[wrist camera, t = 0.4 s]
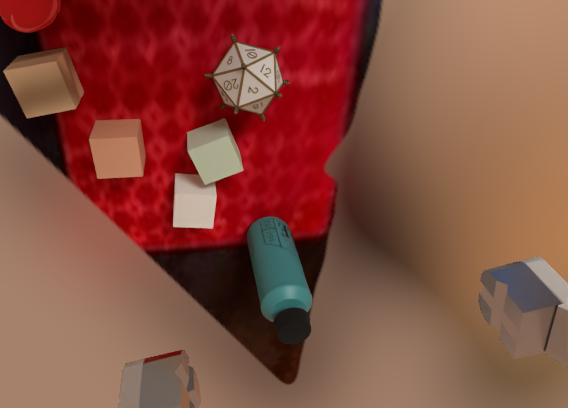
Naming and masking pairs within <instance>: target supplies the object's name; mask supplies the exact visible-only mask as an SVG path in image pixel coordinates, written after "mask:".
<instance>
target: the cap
mask: <svg viewBox="0 0 568 408" xmlns="http://www.w3.org/2000/svg"><path fill="white" fill-rule="evenodd" d="M60 9H61V0H0V15H1V18H2V20H3V21H4V22H5V23H6V24H7V25H8V26H9V27H11V28H13V29H15V30H17V31H20V32H24V33H31V32H35V31H38V30H41V29H43V28H46V27H47V26H49V25H50V24H52V23H53V21H54V20H55V18H56V16H57V13H59V12H60Z"/></svg>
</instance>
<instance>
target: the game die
mask: <svg viewBox="0 0 568 408" xmlns="http://www.w3.org/2000/svg"><path fill="white" fill-rule="evenodd" d="M231 39H232V41H233V44H232V45H231V47H230V48H229V50H228V51H227V53H226V54H225V56H224V58H223V59H222V61H221V62H220V63H219V65H218V67H217V68H216V70H215V71H214V73H213V74H210V73H209V74H208V73H207V74H205V75H204V76H205V77H207V78H209V79H210V78H213V80H214V82H215V85H216V87H217V89H218V91H219V93H220V96H221V98H222V100H223V102H224V104H222V105H220V106H221V107H220V109H224V108H225V107H226V105H227V106H230V107H233V108H235V109H234V111H233V112H234V114H237V113H239V112H238V111H239V109H240V110H244V111H248V112H252V113H255V114H259V115H261V117H260V118H261V120H263V121H264V122H265V118H266V117H265V115H263V113H264V112H265V110H266V109H267V107H268V106H269V104H270V103H271V101H272V100H273V98H274V97H275V96H276V97H278V98H279V97H282V95H281V93H279V92H278V91H279V89H280V88H281V86H282V85H283V84H284V85H288V84H290V82H288V80H287V81H286V80H285V81H283V79H282V75H281V72H280V68H279V65H278V61H277V58H276V53H278V52H279V51H280V46H279V47H276V48H275V49H274V51H270V50H267V49H263V48H262V47H261V48H259V47H255V46H252V45H248V44H244V43H241V42H237V41H236V37H235V35H233V34H231Z"/></svg>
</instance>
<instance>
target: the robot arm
mask: <svg viewBox="0 0 568 408" xmlns="http://www.w3.org/2000/svg"><path fill="white" fill-rule="evenodd" d="M481 282H482V284H483V285H484V287H483V288H482V290H481V291H480V292H479V300H478V302H479V305H480V310H481V312H482V314H483V316H484V318H485V320H486V321H487V323H488V324H489V326H491V327H493V328H495V329H497V330H499V331H500V336H499V340H500V341H501V342H502V344H503V345H504V347H505V348H506V349H507V351H508V352H509V353H510V355H511V356H512V358H513V359H518V358H522V357H526V356H530V355H534V354H539V353H542V352H545V354H547V355H548V356H550V357H551V358H553V359H555V360H556V361H558V362H559V363H561V364H563V365H564V366H566V367H568V283H567V282H565V280H564V279H563V278H562V277H560V275H559V274H558V273H557V272H555V270H553V269H552V268H551V267H550V266H549V265H548V264H547V263H546V262H545V261H544V260H543V259H542V258H540V257H538V256H537V257H534V258H530V259H526V260H523V261H519V262H513V263H510V264H506V265H502V266H499V267H495V268H492V269H488V270H484V271H483V273H482V274H481ZM200 404H201V400H200V389H199V383H198V379H197V375H196V373H195V370H194V368H192V367H190V366H189V358H188V356H187V354H186V352H185V350H180V351H175V352H171V353H167V354H163V355H158V356H154V357H150V358H146V359H142V360H138V361H134V362H130V363H126V364H125V366H124V368H123V372H122V379H121V388H120V395H119V403H118V408H198V407H199V405H200Z"/></svg>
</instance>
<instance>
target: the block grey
mask: <svg viewBox="0 0 568 408" xmlns="http://www.w3.org/2000/svg"><path fill="white" fill-rule="evenodd" d="M216 197H217V195H216V186H215V181H214V182H212V183H209V184H206V185H205V184H204V182H203V180H202V179H201V177H200V175H196V174H180V173H175V187H174V204H173V227H186V228H213V223H214V214H215V206H216Z"/></svg>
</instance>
